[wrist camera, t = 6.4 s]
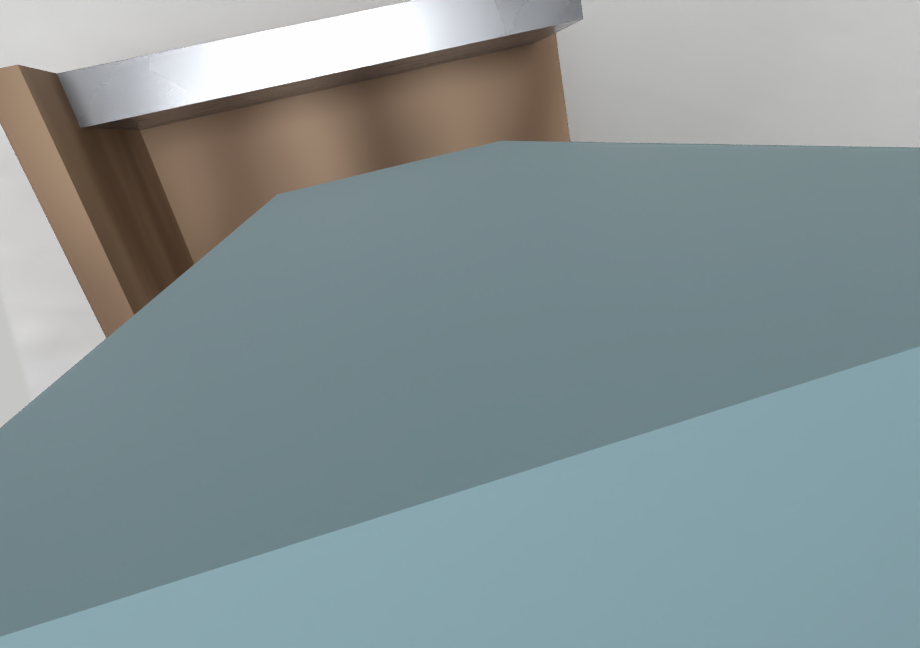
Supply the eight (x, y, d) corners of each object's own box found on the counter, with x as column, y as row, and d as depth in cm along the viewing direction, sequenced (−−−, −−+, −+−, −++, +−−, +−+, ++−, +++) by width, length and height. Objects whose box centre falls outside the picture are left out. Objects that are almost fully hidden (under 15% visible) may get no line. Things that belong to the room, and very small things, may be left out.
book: (500, 140, 10) (1523, 159, 1) (586, 620, 14) (947, 1342, 6) (276, 194, 9) (-400, 760, 1) (436, 673, 13) (588, 1543, 5)
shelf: (538, 6, 23) (636, -61, 16) (602, 459, 32) (687, 564, 24) (111, 97, 21) (-24, 73, 14) (302, 555, 30) (287, 704, 22)
